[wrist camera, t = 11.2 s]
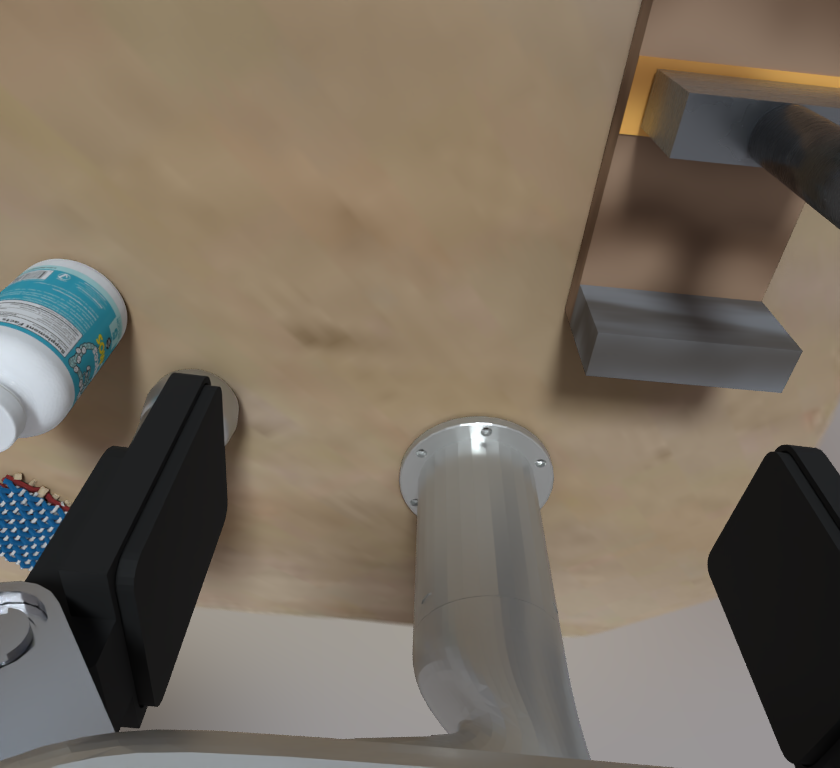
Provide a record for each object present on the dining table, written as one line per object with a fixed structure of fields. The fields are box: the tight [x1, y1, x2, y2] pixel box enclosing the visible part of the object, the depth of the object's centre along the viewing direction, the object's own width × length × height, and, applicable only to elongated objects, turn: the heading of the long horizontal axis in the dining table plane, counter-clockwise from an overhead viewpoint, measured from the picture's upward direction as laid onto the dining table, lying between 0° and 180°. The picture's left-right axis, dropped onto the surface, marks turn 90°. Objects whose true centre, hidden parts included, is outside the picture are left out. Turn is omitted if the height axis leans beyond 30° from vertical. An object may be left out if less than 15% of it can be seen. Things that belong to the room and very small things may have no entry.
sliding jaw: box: [641, 69, 840, 229], centre depth 30 cm, size 3×10×16 cm, turn 85°
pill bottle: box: [0, 259, 127, 452], centre depth 42 cm, size 8×7×14 cm
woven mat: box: [0, 473, 72, 571], centre depth 60 cm, size 10×11×2 cm
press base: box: [565, 0, 840, 393], centre depth 36 cm, size 26×12×8 cm, turn 175°
